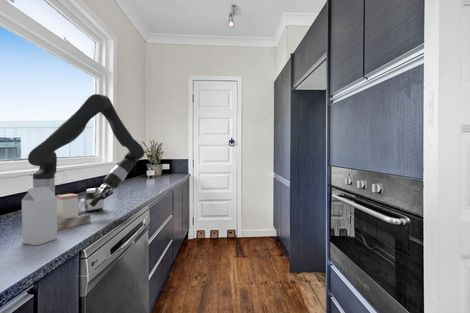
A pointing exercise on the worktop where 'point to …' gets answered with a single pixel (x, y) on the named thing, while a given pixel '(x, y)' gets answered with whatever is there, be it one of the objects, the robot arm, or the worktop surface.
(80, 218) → the track
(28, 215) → the milk carton
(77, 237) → the worktop surface
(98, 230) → the worktop surface
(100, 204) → the spread jar
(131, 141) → the robot arm
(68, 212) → the pink-topped white box
